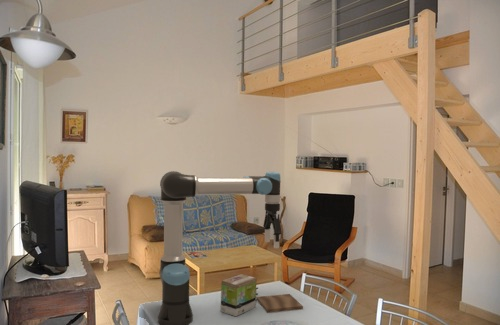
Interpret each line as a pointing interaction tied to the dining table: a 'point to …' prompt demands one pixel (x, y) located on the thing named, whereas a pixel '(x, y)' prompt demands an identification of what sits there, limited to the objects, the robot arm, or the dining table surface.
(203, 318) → the dining table surface
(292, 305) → the walnut board
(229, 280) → the tea box
